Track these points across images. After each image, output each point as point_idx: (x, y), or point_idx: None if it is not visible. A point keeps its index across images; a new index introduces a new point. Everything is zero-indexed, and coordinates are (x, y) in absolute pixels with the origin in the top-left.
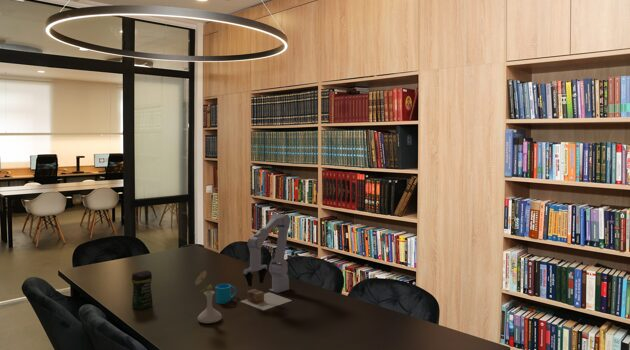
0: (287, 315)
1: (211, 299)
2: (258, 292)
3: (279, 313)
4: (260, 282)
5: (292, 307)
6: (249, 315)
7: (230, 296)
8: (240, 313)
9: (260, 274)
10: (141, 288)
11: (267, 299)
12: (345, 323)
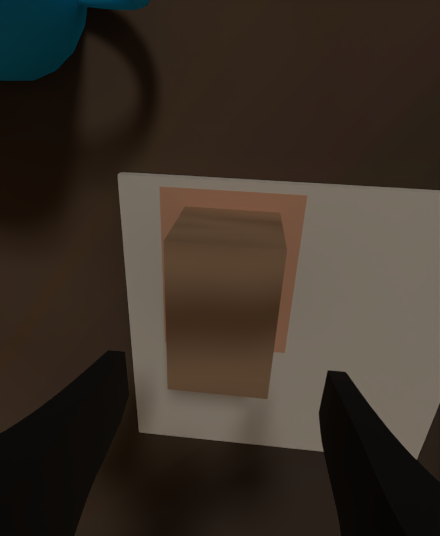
0: (204, 530)
1: None
2: (224, 366)
3: (194, 495)
4: (326, 389)
5: (317, 499)
6: (39, 406)
7: (22, 68)
8: (5, 348)
9: (365, 519)
10: None
11: (322, 327)
12: None
